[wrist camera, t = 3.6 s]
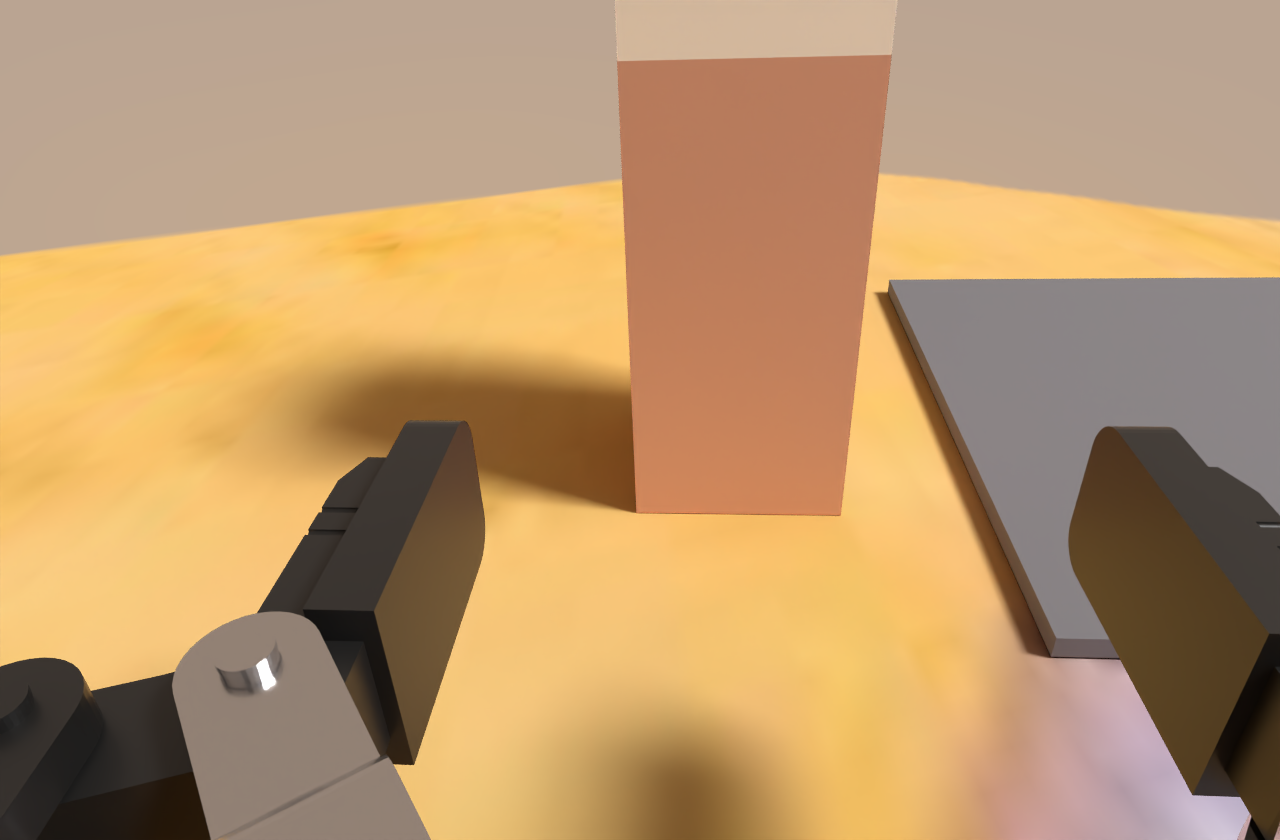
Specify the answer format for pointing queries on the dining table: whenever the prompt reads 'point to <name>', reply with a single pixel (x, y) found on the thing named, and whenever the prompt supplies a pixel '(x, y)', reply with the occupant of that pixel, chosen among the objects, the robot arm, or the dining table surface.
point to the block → (747, 243)
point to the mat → (1091, 400)
